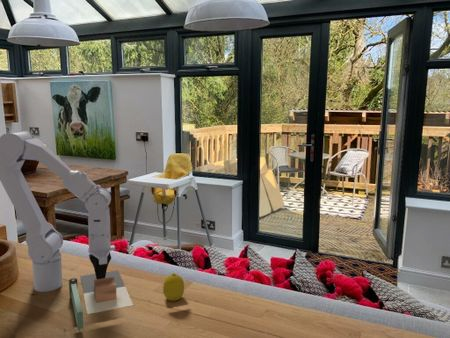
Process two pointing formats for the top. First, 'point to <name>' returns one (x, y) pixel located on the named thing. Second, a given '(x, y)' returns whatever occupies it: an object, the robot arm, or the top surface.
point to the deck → (94, 307)
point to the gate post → (71, 281)
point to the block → (105, 289)
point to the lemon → (173, 287)
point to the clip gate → (77, 306)
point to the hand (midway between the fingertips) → (100, 279)
